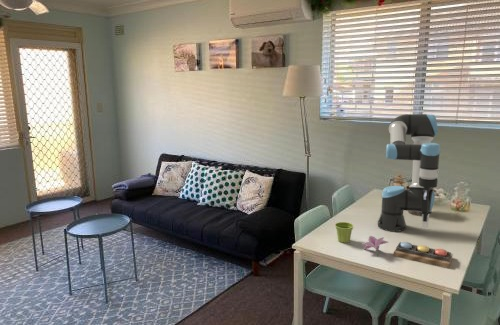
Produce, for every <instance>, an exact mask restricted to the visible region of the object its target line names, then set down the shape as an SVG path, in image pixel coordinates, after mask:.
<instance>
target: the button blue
mask: <svg viewBox="0 0 500 325" xmlns="http://www.w3.org/2000/svg"><path fill="white" fill-rule="evenodd" d="M400 242H401V241H400ZM412 245H413V244H412V243H411V242H408V241H402V242H401V248H404V249H411V248H412Z"/></svg>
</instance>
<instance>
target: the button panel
mask: <svg viewBox="0 0 500 325" xmlns="http://www.w3.org/2000/svg"><path fill="white" fill-rule="evenodd" d="M418 246H419V245H415V244H412V248H411V249H404V248H401V241H400V242H399V243H398V244H397V245H396V248H395V249H394V251H393V257H397V258H401V259H406V260H409V261H414V262H415V261H416V262H419V263H424V264H429V265H432V266H437V267H442V268H447V269H450V266H451V263H452V260H453V254H454V253H452V252H451V251H447V256H445V257H443V256H438V255H436V254H435V249H436V248H432V247H429V252H428V253H423V252H419V251H418V250H417V247H418Z"/></svg>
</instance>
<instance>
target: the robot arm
mask: <svg viewBox="0 0 500 325" xmlns="http://www.w3.org/2000/svg"><path fill="white" fill-rule="evenodd" d="M388 132H389V134H390V139H389V140H390V143H387V144H386V149H385V159H388V160H393V161H394V160H395V161H396V160H399V161H412V174H411V175H412V177H411V178H412V180H411V184H410V186H409V185H408V186H409V190H406V188H405V187H404V186H403V185H389V186H386V187H384V188H383V189H382V194H381V212H380V215H379V217H378V220H377V227H378V228H379V229H381V230H383V231H388V232H389V231H390V232H402V231H403V232H404V230H406V229H407V228H406V227H407V223H406V220H405V216H404V211H407V212H408V211H417V212H421V214H422V215H421V228H422V229H423V228H424V229H429V223H430V214H432V212H431V211H432V210H433V207H434V203H435V196H436V192H435V190H434V191H433V190H432V188H437V187H438V180H439V179H438V178H439V176H438V175H439V174H440V171H439V163H440V153H441V145H440V144H439V143H436V142H432V141H433V140H434V138H435V136H437V135H438V122H437V118H436V116H435V115H434V114H430V113H429V114H428V113H417V114H416V113H415V114H411V113H410V114H409V113H408V114H407V113H405V114H401V115H398V116H396V117H395V118H393V119H392V121H390V122H389V125H388ZM407 136H410V138H411V141H413V143H412V144H411V143H410V144H409V143H408V144H407Z"/></svg>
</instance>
